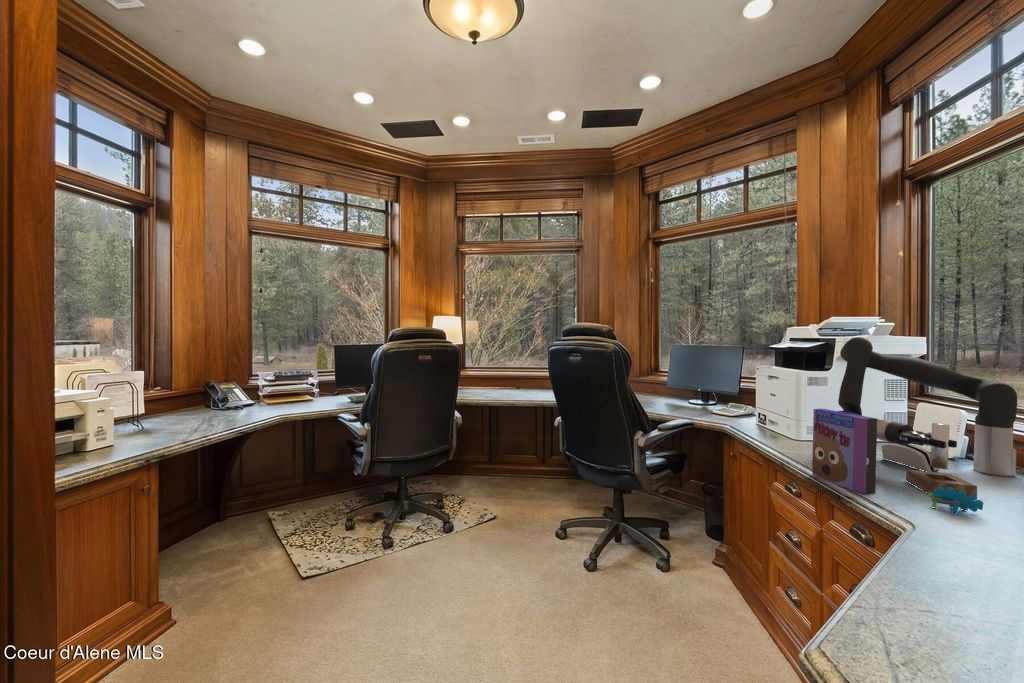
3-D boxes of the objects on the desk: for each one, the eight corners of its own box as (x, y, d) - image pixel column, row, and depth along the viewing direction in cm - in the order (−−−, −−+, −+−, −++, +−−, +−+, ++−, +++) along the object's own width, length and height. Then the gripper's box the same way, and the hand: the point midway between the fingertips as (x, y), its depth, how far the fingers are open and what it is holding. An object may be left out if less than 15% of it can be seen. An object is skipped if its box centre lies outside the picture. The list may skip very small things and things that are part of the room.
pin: (942, 465, 138) (944, 423, 137) (950, 469, 134) (952, 426, 134) (927, 464, 139) (929, 422, 139) (935, 468, 135) (936, 424, 135)
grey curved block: (940, 472, 154) (933, 447, 153) (930, 477, 153) (923, 452, 152) (893, 458, 170) (886, 436, 169) (883, 463, 170) (877, 440, 169)
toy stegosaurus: (990, 511, 116) (975, 488, 114) (987, 529, 114) (971, 507, 112) (937, 502, 126) (922, 481, 124) (933, 519, 124) (917, 498, 122)
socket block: (950, 485, 140) (950, 473, 140) (977, 498, 129) (977, 486, 129) (905, 481, 144) (905, 469, 144) (927, 494, 133) (928, 481, 133)
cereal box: (812, 476, 149) (813, 408, 149) (822, 475, 150) (824, 408, 150) (863, 494, 132) (865, 418, 132) (875, 493, 133) (877, 417, 133)
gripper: (876, 422, 149) (934, 434, 132) (907, 420, 152) (968, 432, 135) (875, 443, 149) (933, 457, 132) (906, 441, 152) (967, 455, 135)
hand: (950, 444), depth 134 cm, fingers closed on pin, 4 cm apart
